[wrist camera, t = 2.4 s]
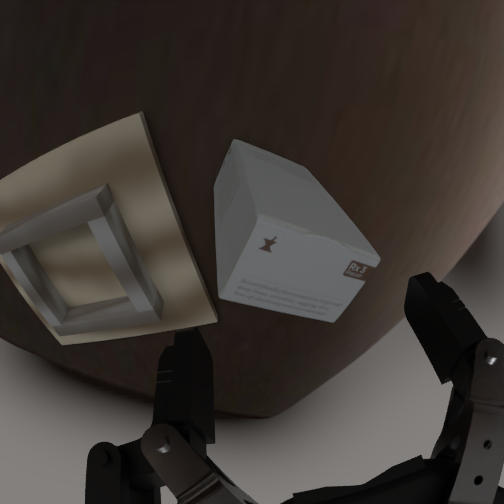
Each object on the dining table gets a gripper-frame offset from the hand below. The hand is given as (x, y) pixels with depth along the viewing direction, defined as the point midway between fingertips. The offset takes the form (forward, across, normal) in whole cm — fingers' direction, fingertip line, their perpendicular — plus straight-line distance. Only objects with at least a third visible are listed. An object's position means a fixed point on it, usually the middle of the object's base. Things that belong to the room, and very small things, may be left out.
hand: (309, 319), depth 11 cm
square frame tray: (+14, +17, +3) cm, 22 cm away
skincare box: (+14, 0, 0) cm, 14 cm away
